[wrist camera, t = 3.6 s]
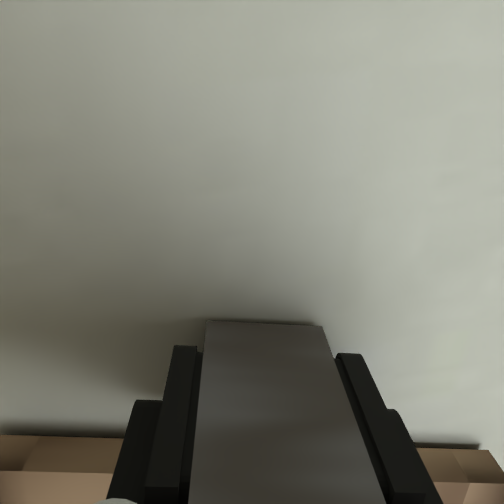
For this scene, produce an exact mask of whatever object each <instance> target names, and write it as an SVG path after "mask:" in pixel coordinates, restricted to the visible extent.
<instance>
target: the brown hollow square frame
mask: <svg viewBox="0 0 504 504" xmlns="http://www.w3.org/2000/svg"><path fill="white" fill-rule="evenodd" d="M123 440H124V439H118V438H86V437H55V436H23V435H0V504H94V503H96V502H98V501H101V500H106V497H107V493H108V490H109V487H110V483H111V480H112V477H113V473H114V470H115V466H116V463H117V460H118V456H119V453H120V450H121V446H122V443H123ZM416 449H417V451H418V453H419V455H420V457H421V459H422V461H423V463H424V465H425V467H426V469H427V471H428V473H429V475H430V477H431V479H432V481H433V483H434V485H435V487H436V489H437V491H438V493H439V495H440V497H441V499H442V501H443V503H444V504H504V472H503V471H502V469H501V468H500V466H499V465H498V463H497V462H496V460H495V459H494V458H493V456H492V455H491V453H490V452H489V450H469V449H437V448H416ZM188 504H386V502H385V499H384V496H383V493H382V491H381V488H380V485H379V482H378V480H377V477H376V474H375V471H374V469H373V466H372V463H371V460H370V458H369V455H368V452H367V449H366V447H365V444H364V441H363V438H362V436H361V433H360V430H359V427H358V424H357V422H356V419H355V416H354V413H353V411H352V408H351V405H350V402H349V400H348V397H347V394H346V391H345V389H344V386H343V383H342V380H341V378H340V375H339V372H338V369H337V367H336V364H335V361H334V358H333V356H332V353H331V350H330V347H329V345H328V342H327V339H326V336H325V334H324V331H323V328H322V326H304V325H285V324H265V323H245V322H226V321H207V322H206V332H205V342H204V352H203V362H202V372H201V381H200V391H199V401H198V411H197V421H196V431H195V440H194V450H193V460H192V470H191V480H190V490H189V500H188Z"/></svg>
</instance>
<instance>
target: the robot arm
mask: <svg viewBox="0 0 504 504" xmlns="http://www.w3.org/2000/svg"><path fill="white" fill-rule="evenodd" d="M334 361H335V364H336V367H337V369H338V372H339V375H340V378H341V380H342V383H343V386H344V389H345V391H346V394H347V397H348V400H349V402H350V405H351V408H352V411H353V413H354V416H355V419H356V422H357V424H358V427H359V430H360V433H361V436H362V438H363V441H364V444H365V447H366V449H367V452H368V455H369V458H370V460H371V463H372V466H373V469H374V471H375V474H376V477H377V480H378V482H379V485H380V488H381V491H382V493H383V496H384V499H385V502H386V504H444V503H443V501H442V499H441V497H440V495H439V493H438V491H437V489H436V487H435V485H434V483H433V481H432V479H431V477H430V475H429V473H428V471H427V469H426V467H425V465H424V463H423V461H422V459H421V457H420V455H419V453H418V451H417V449H416V447H415V445H414V443H413V441H412V439H411V437H410V435H409V433H408V431H407V429H406V427H405V425H404V423H403V421H402V419H401V417H400V415H399V414H398V412H397V411H396V410H394V409H387V408H386V406H385V404H384V401H383V399H382V397H381V395H380V393H379V391H378V389H377V386H376V384H375V382H374V380H373V378H372V376H371V374H370V371H369V369H368V367H367V365H366V363H365V361H364V359H363V357H362V355H361V354H351V353H338V354H337V356H336V359H334ZM202 362H203V353H200V352H197V346H179V345H175V346H174V349H173V354H172V358H171V363H170V368H169V372H168V377H167V382H166V387H165V391H164V396H163V401H161V400H136V401H135V403H134V406H133V409H132V413H131V416H130V419H129V423H128V426H127V429H126V433H125V436H124V440H123V443H122V446H121V450H120V453H119V456H118V460H117V463H116V466H115V470H114V473H113V477H112V480H111V483H110V487H109V490H108V493H107V497H106V500H101V501H98V502H96V503H94V504H188V500H189V490H190V480H191V470H192V460H193V450H194V440H195V431H196V421H197V411H198V401H199V391H200V381H201V372H202Z"/></svg>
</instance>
